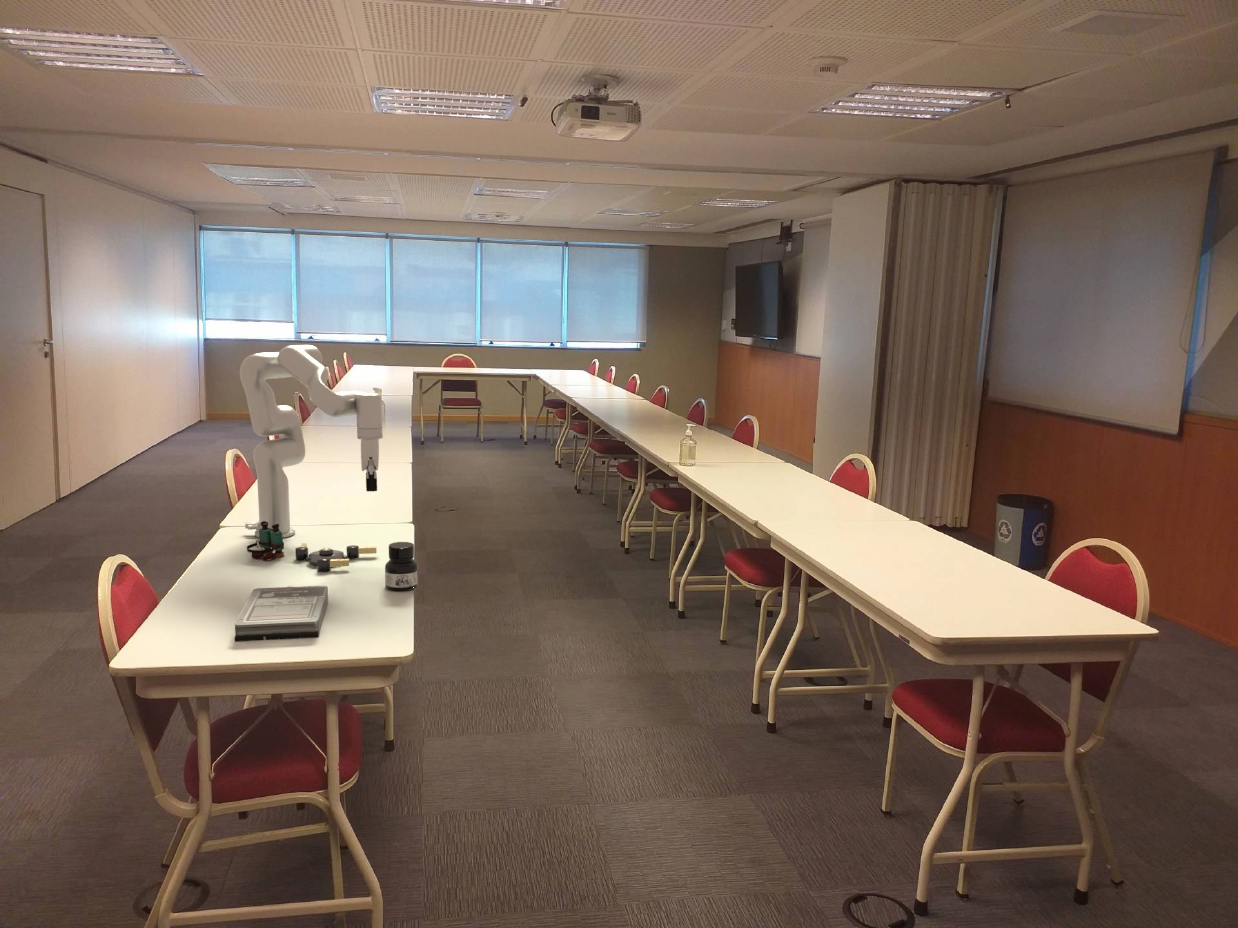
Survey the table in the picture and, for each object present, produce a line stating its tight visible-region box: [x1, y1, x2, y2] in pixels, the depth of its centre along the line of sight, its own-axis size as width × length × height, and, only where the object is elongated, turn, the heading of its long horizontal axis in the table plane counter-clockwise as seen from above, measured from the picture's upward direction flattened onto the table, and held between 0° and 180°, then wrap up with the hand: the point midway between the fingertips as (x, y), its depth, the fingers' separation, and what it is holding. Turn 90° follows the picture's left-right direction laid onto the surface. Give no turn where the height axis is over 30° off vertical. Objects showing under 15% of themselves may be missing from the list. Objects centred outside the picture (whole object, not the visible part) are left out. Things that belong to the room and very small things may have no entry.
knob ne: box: [346, 544, 377, 560], centre depth 275 cm, size 9×4×3 cm, turn 103°
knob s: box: [317, 558, 350, 573], centre depth 261 cm, size 9×4×3 cm, turn 103°
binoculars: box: [246, 521, 285, 562], centre depth 271 cm, size 9×11×10 cm
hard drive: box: [234, 585, 329, 643], centre depth 221 cm, size 18×27×4 cm
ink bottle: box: [384, 541, 419, 592], centre depth 247 cm, size 10×9×12 cm
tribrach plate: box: [305, 547, 348, 568], centre depth 268 cm, size 12×11×4 cm
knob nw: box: [295, 542, 309, 562], centre depth 274 cm, size 9×4×3 cm, turn 13°
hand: (371, 488), depth 278 cm, fingers open, 9 cm apart
